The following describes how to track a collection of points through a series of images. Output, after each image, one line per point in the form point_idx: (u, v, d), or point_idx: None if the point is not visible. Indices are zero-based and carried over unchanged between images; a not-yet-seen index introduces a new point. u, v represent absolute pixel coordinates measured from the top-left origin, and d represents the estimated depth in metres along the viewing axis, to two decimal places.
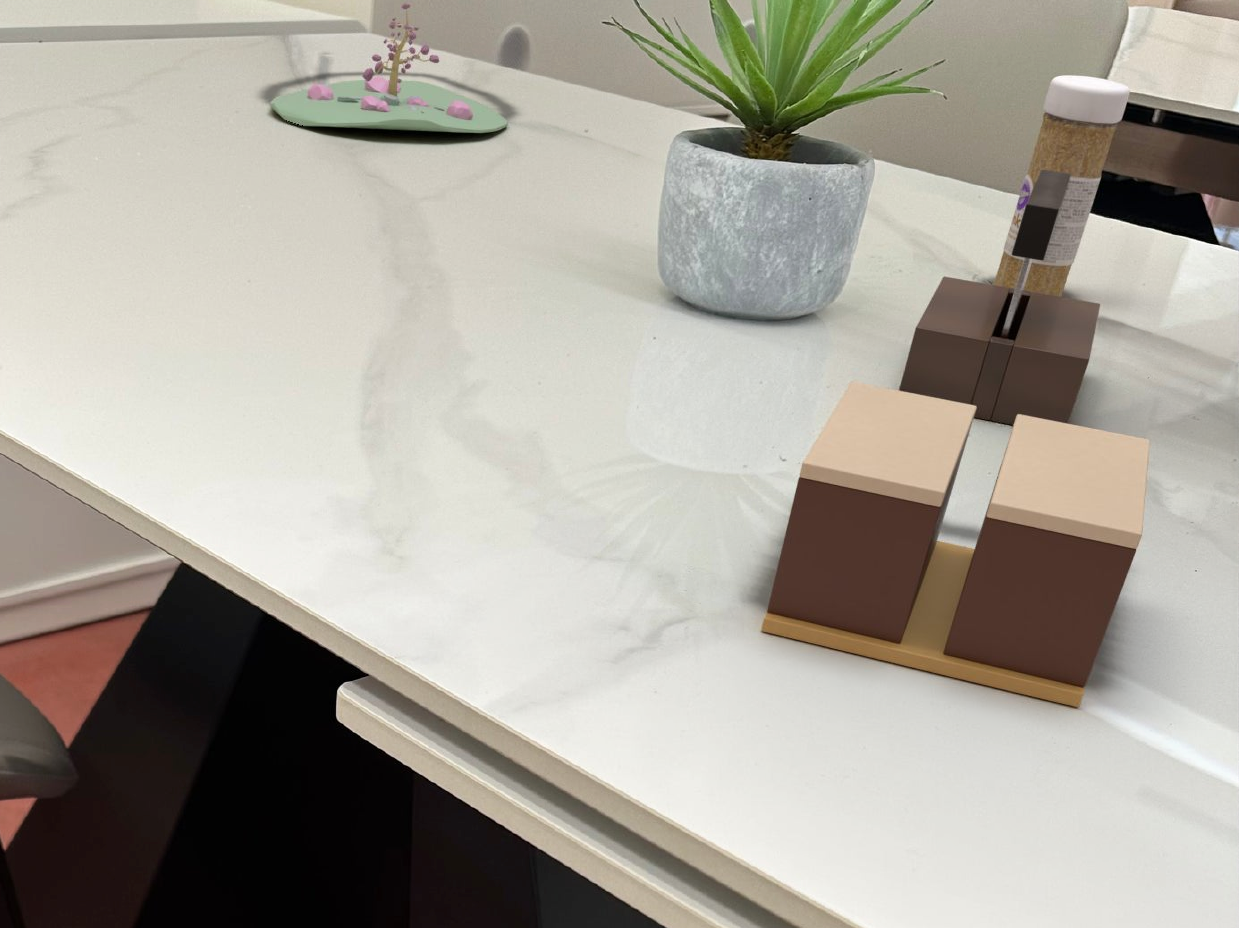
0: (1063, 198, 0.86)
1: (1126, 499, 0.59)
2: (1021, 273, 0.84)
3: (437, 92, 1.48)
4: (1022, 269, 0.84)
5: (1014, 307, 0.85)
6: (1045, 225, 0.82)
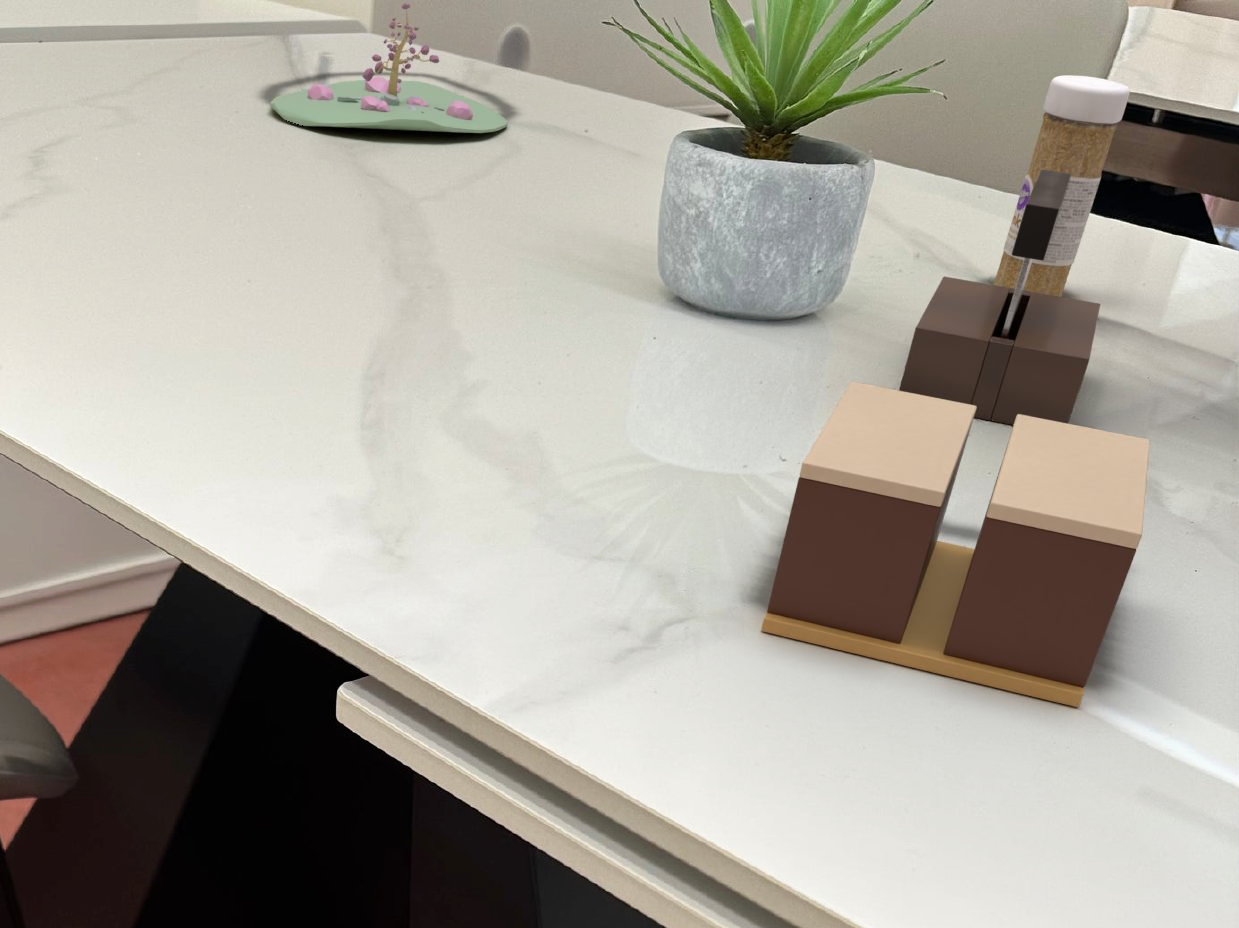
0: (1063, 198, 0.86)
1: (1126, 499, 0.59)
2: (1021, 273, 0.84)
3: (437, 92, 1.48)
4: (1022, 269, 0.84)
5: (1014, 307, 0.85)
6: (1045, 225, 0.82)
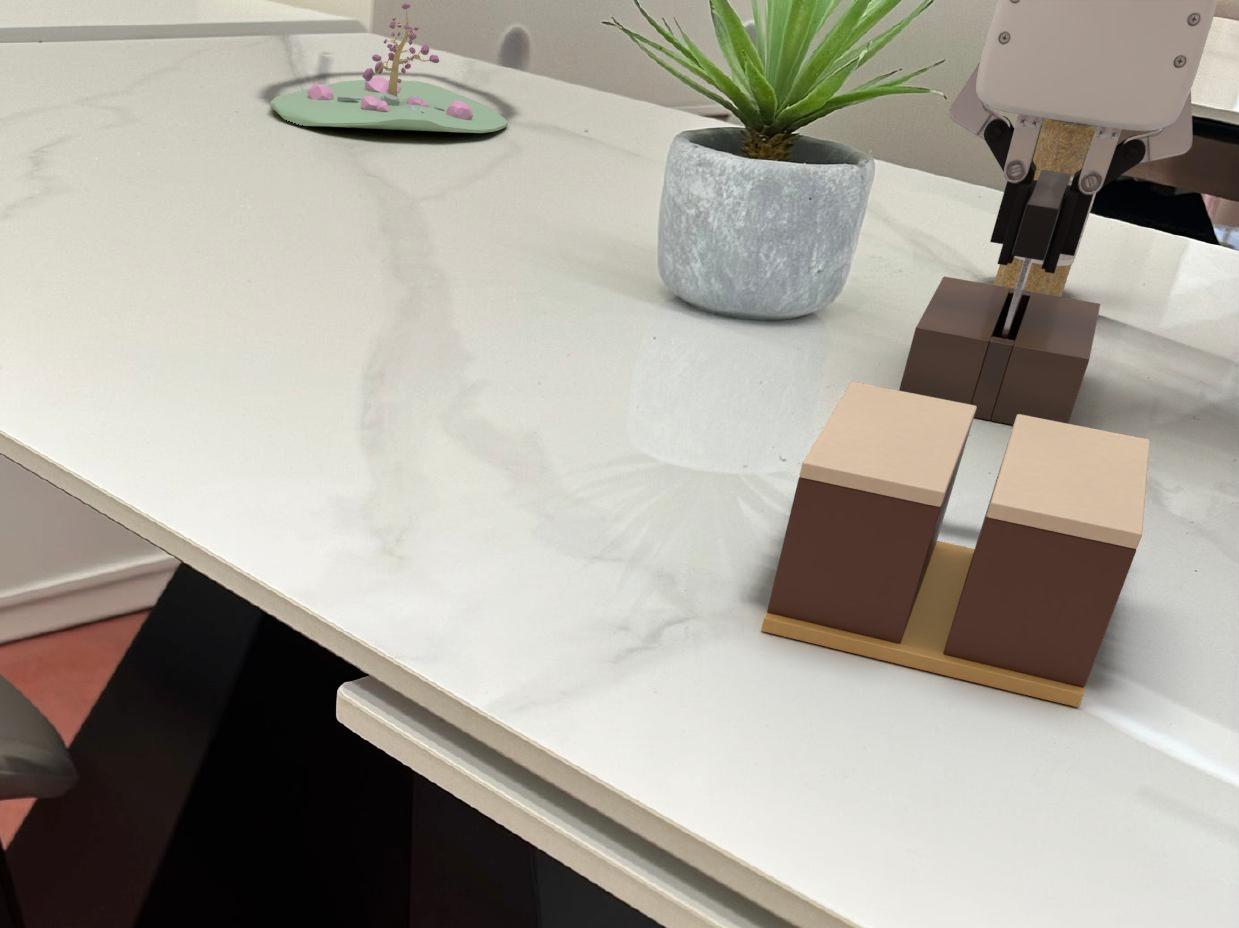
0: None
1: (1126, 499, 0.59)
2: (1021, 273, 0.84)
3: (437, 92, 1.48)
4: (1022, 269, 0.84)
5: (1014, 307, 0.85)
6: (1045, 225, 0.82)
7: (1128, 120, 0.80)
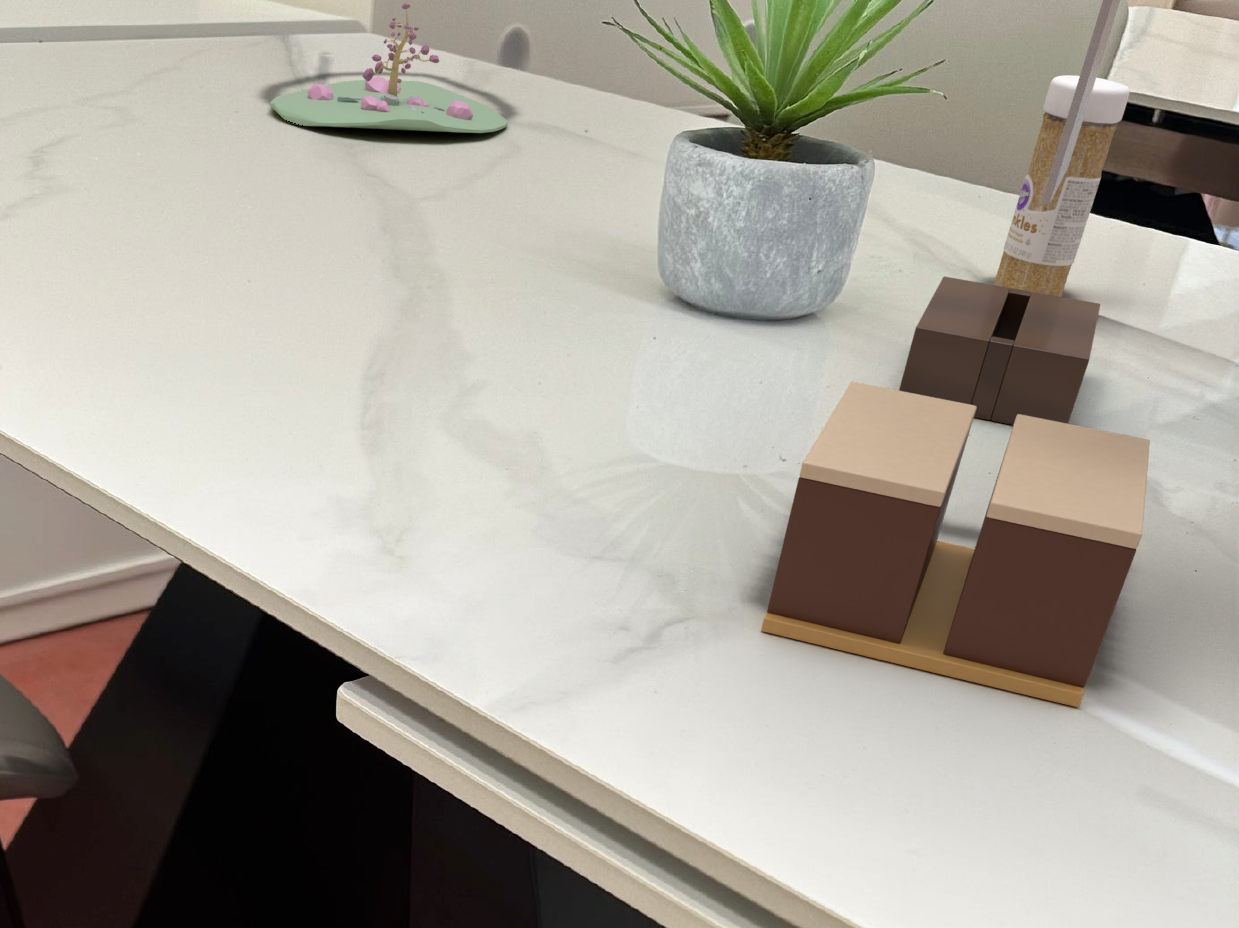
0: None
1: (1126, 499, 0.59)
2: None
3: (437, 92, 1.48)
4: None
5: (1100, 35, 0.56)
6: None
7: None
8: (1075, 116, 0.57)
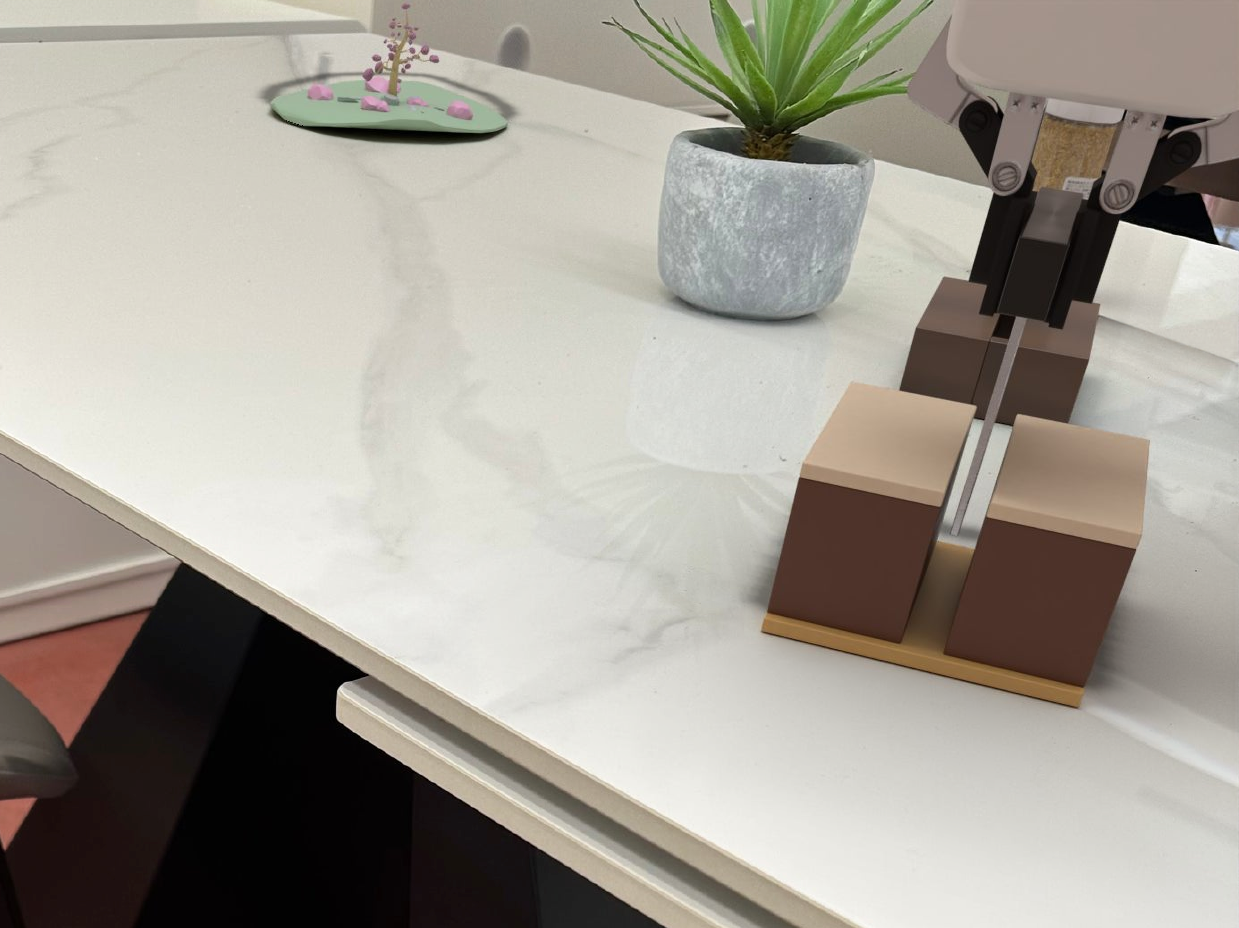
0: None
1: (1126, 499, 0.59)
2: (1012, 339, 0.56)
3: (437, 92, 1.48)
4: (1013, 333, 0.56)
5: (1001, 388, 0.57)
6: (1047, 268, 0.54)
7: (1178, 102, 0.53)
8: (980, 459, 0.58)
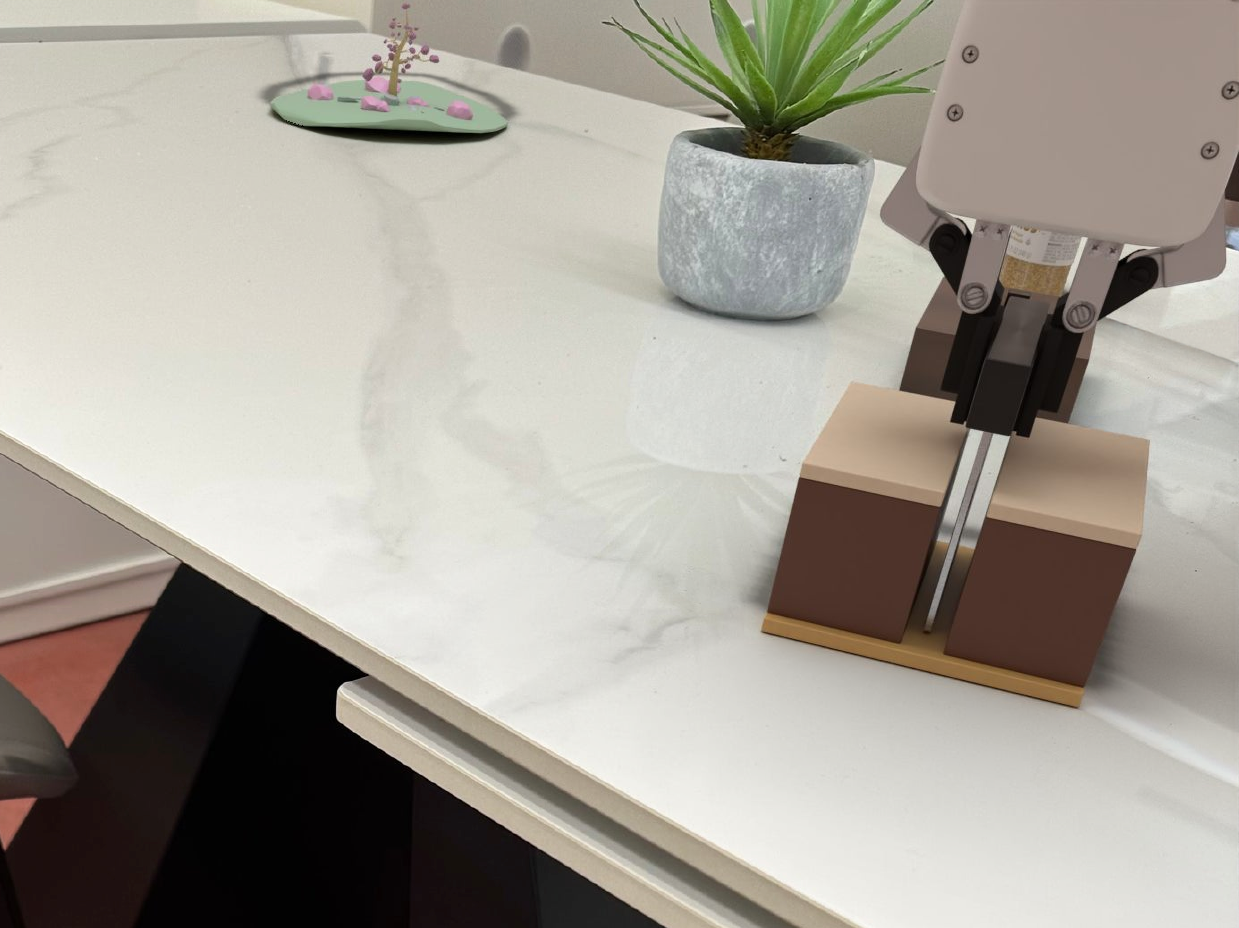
0: None
1: (1126, 499, 0.59)
2: (979, 451, 0.59)
3: (437, 92, 1.48)
4: (981, 446, 0.59)
5: (970, 496, 0.60)
6: (1012, 387, 0.57)
7: (1135, 232, 0.56)
8: (951, 561, 0.61)
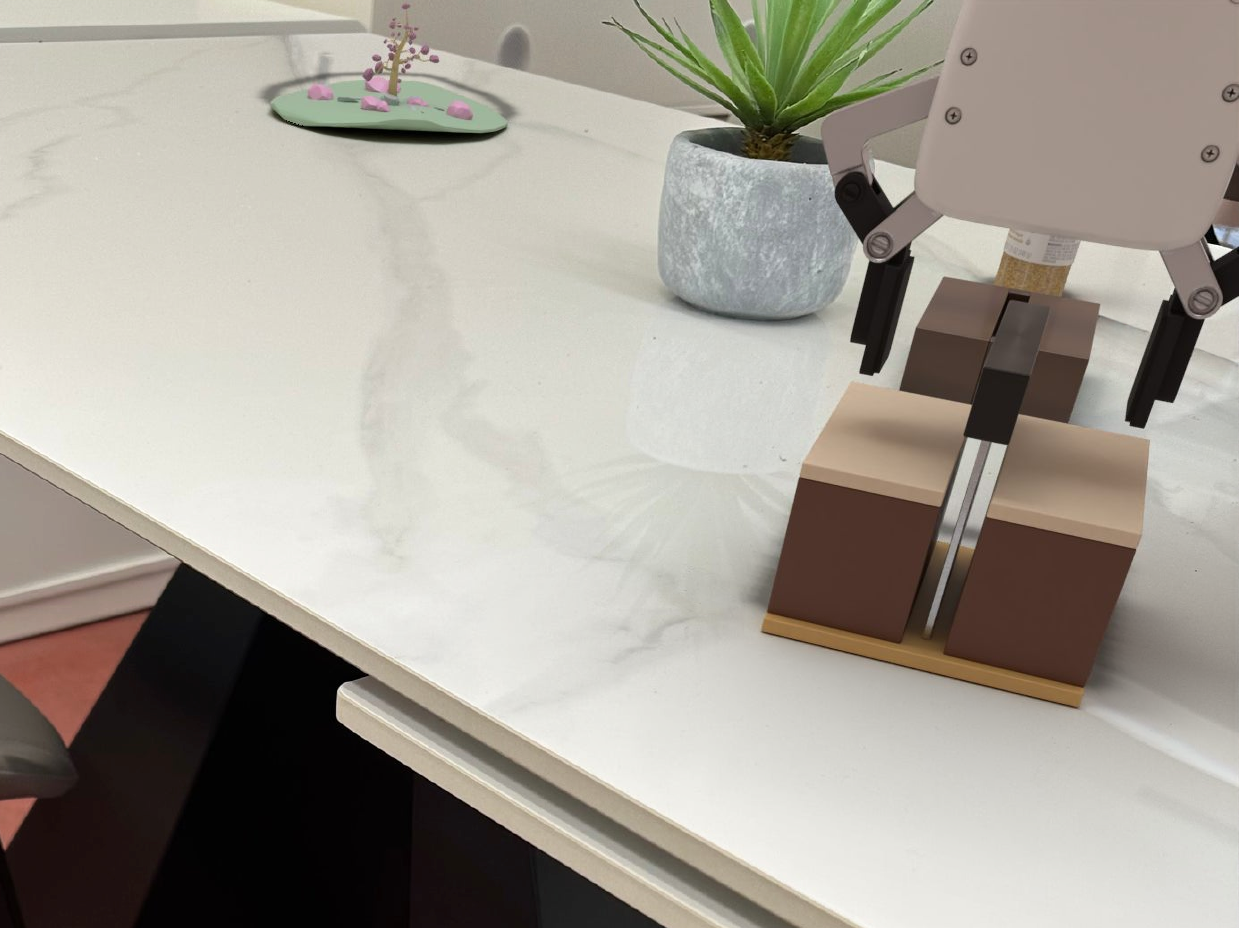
0: None
1: (1126, 499, 0.59)
2: (978, 460, 0.59)
3: (437, 92, 1.48)
4: (979, 454, 0.58)
5: (968, 505, 0.60)
6: (1010, 397, 0.57)
7: (1134, 236, 0.55)
8: (949, 569, 0.61)
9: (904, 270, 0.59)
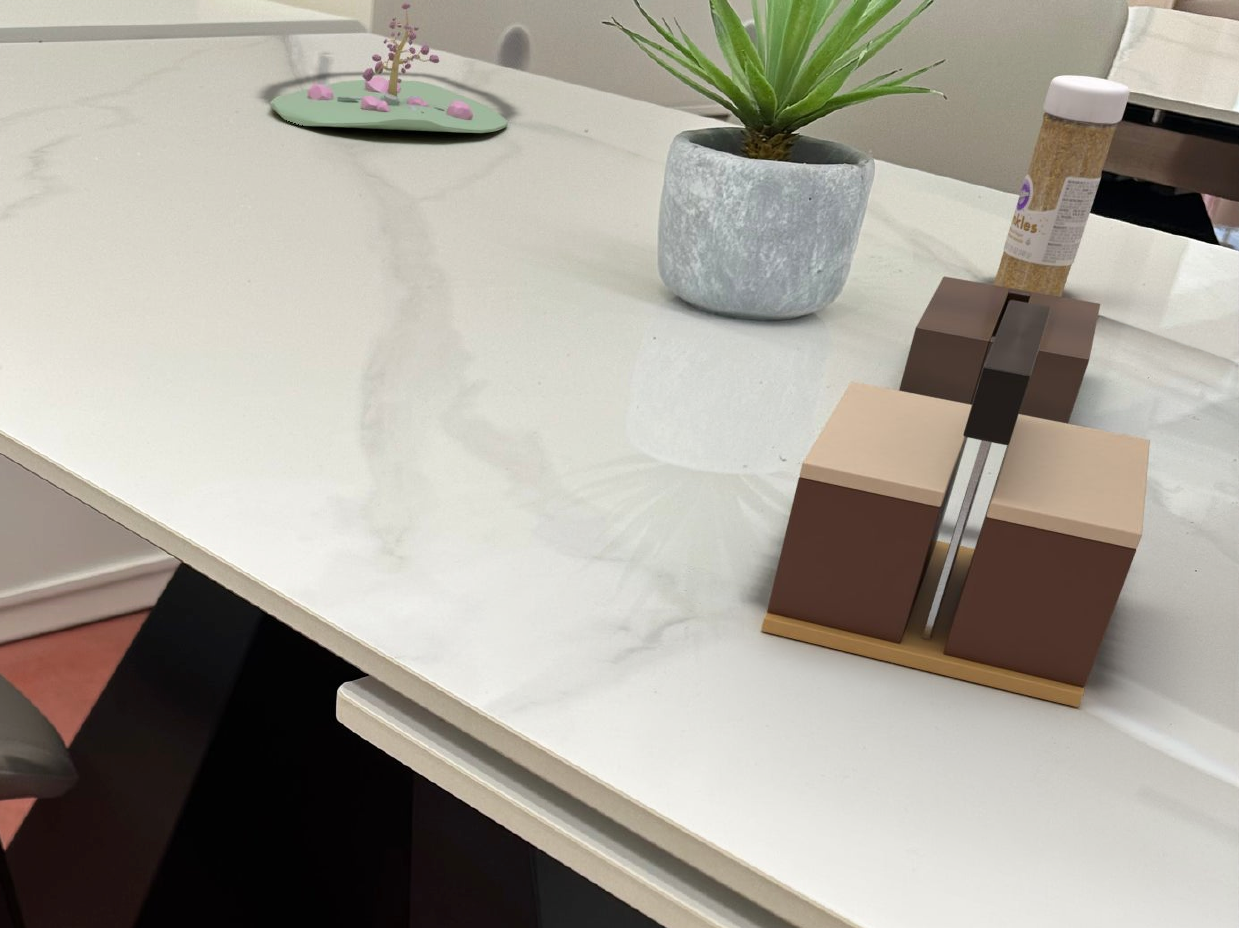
0: None
1: (1126, 499, 0.59)
2: (978, 460, 0.59)
3: (437, 92, 1.48)
4: (979, 454, 0.58)
5: (968, 505, 0.60)
6: (1010, 397, 0.57)
7: None
8: (949, 569, 0.61)
9: None
